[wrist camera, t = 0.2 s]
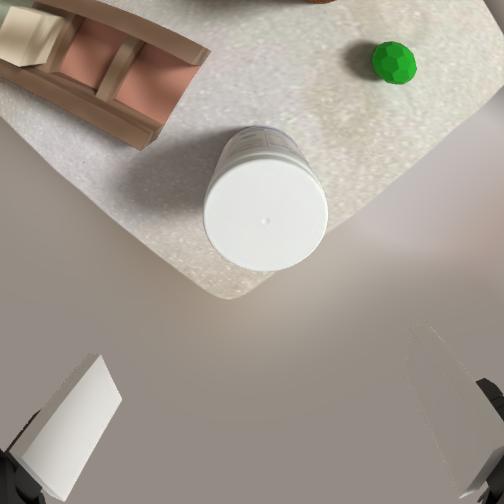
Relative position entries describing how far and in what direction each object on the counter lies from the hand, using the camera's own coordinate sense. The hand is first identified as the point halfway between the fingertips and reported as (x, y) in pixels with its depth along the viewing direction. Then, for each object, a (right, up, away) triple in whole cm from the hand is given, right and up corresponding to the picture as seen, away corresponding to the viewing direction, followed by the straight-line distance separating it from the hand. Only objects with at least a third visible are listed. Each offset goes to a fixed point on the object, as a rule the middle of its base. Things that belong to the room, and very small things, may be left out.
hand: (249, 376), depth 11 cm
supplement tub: (+1, +15, +23) cm, 28 cm away
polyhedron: (+15, +26, +15) cm, 34 cm away
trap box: (-23, +31, +13) cm, 40 cm away
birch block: (-25, +30, +9) cm, 40 cm away
